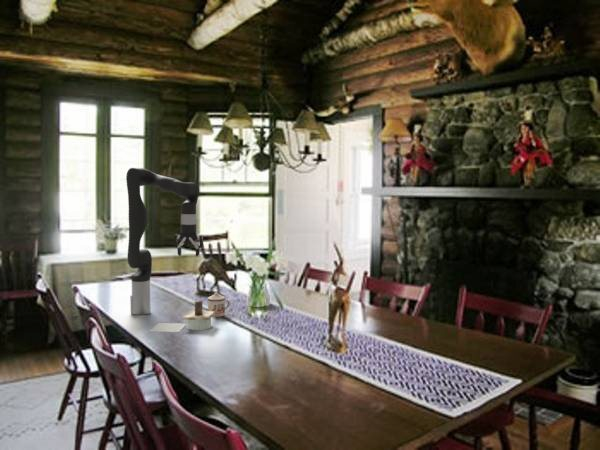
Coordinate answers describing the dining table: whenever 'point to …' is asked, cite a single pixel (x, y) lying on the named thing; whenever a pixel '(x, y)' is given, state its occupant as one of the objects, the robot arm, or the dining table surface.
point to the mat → (168, 327)
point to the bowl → (198, 324)
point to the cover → (198, 313)
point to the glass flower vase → (265, 295)
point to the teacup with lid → (217, 305)
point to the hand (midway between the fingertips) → (188, 255)
